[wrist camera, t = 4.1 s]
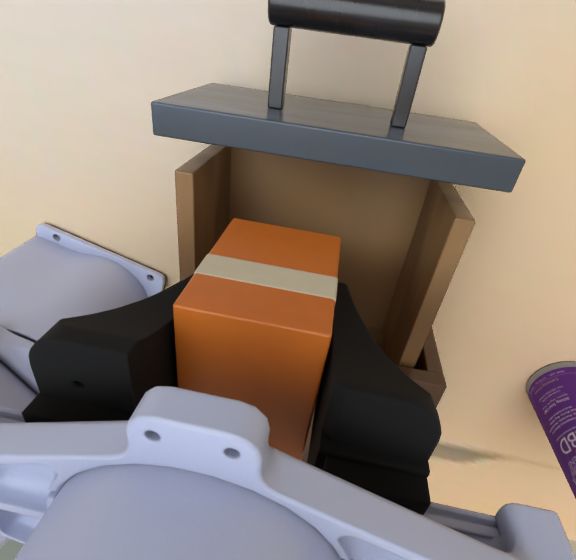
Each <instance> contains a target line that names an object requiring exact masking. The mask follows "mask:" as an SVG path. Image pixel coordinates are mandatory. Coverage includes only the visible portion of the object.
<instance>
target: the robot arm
mask: <svg viewBox="0 0 576 560" xmlns="http://www.w3.org/2000/svg"><path fill="white" fill-rule="evenodd" d="M57 235H58V236H59V237H60V238H59V237H58V236H57ZM150 275H152V276H153V277H154V278H152V277H150ZM193 275H194V274H192V275H191V276H189V277H187V278H186V279H184V280H182V281H180V282H179V283H177V284H175V285H173V286H171V287H169V288H167V289H166V290H164V291H163V288H164V285H165V281H166V279H165V276H164V275H163V274H161V273H159V272H157V271H155V270H152V269H150V268H148V267H146V266H143V265H141V264H139V263H136V262H134V261H132V260H129V259H127V258H125V257H122V256H120V255H118V254H115V253H113V252H111V251H108V250H106V249H104V248H101V247H99V246H97V245H95V244H92V243H90V242H88V241H85V240H83V239H81V238H78V237H76V236H74V235H71V234H69V233H67V232H64V231H62V230H60V229H57V228H55V227H53V226H50V225H48V224H45V223H41V224H40V225H38V226H37V228H36V236H35V237H33V238H32V239H30V240H28V241H27V242H25V243H23V244H22V245H20V246H19V247H17V248H15V249H14V250H12V251H10V252H9V253H7V254H6V255H4V256H2V257H1V258H0V548H1V547H2V546H3V545H4V544H5V543H6V542H7V541H9V540H10V539H12V540H15V541H18V542H20V543H23V544H24V546H23V547H22V549H21V550H20V552H19V553H18V555H17V556H16V558H15V559H14V560H576V558H575V555H574V553H573V550H572V548H571V546H570V543H569V541H568V538H567V536H566V533H565V531H564V529H563V526H562V524H561V521H560V519H559V516H558V514H557V513H556V512H554V511H550V510H546V509H541V508H536V507H532V506H527V505H523V504H517V503H510V504H505V505H504V506H502V507H501V508H500V509H499V511H498V512H497V514H496V516H492V515H487V514H483V513H478V512H474V511H469V510H465V509H460V508H456V507H451V506H447V505H442V504H438V503H433V502H430V495H429V489H428V482H427V477H428V476H429V473H430V470H429V463H428V460H429V458H430V456H431V454H432V453H433V451H434V449H435V447H436V446H437V444H438V442H439V439H440V436H441V425H440V420H439V416H438V413H437V410H436V407H435V404H434V401H433V399H432V396H431V394H430V393H429V392H427V391H426V390H425V389H424V388H422V387H421V386H420V385H418V384H417V383H416V382H414V381H413V380H412V379H410V378H409V377H408V376H407V375H406V374H405V373H404V372H403V371H401V370H400V369H399V368H398V367H397V366H396V365H395V364H394V363H393V362H392V361H391V360H390V359H389V357H388V356H387V355H386V354H385V353H384V352H383V351H382V350H381V348H380V347H379V346H378V344H377V343H376V342H375V340H374V339H373V337H372V336H371V334H370V333H369V331H368V329H367V328H366V326H365V324H364V323H363V321H362V319H361V317H360V315H359V313H358V311H357V309H356V307H355V304H354V302H353V300H352V297H351V294H350V291H349V288H348V286H347V284H344V283H339V282H338V285H337V296H336V303H335V308H334V319H333V329H332V338H331V342H330V346H329V350H328V354H327V358H326V363H325V367H324V371H323V375H322V379H321V383H320V387H319V391H318V396H317V400H316V404H315V411H314V418H313V425H312V432H311V439H310V446H309V453H308V459H307V463H306V462H304V461H301V460H299V459H297V458H295V457H293V456H290V455H288V454H286V453H284V452H282V451H279V450H277V449H275V448H273V447H271V446H269V443H268V438H269V432H270V427H269V423H268V419H267V417H266V416H265V415H264V414H263V413H262V412H261V411H260V410H258V409H257V408H256V407H255V406H253V405H250V404H248V403H245V402H243V401H239V400H234V399H229V398H225V397H220V396H215V395H211V394H206V393H201V392H196V391H192V390H187V389H182V388H178V383H177V366H176V349H175V332H174V315H173V304H174V303H175V301H176V300H177V298H178V297H179V295H180V294H181V293H182V291H183V290H184V288H185V287H186V285H187V284H188V283H189V281H190V280H191V278H192V277H193Z"/></svg>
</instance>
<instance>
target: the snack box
mask: <svg viewBox="0 0 576 560" xmlns="http://www.w3.org/2000/svg"><path fill="white" fill-rule="evenodd" d="M340 244H341V238H340V237H338V236H332V235H326V234H321V233H315V232H310V231H304V230H298V229H293V228H287V227H282V226H276V225H270V224H265V223H259V222H254V221H248V220H242V219H237V218H234V219H233V220H232V221H231V223H230V224H229V225H228V227H227V228H226V230H225V231H224V233H223V234H222V235H221V237H220V238H219V240H218V241H217V243H216V244H215V245H214V247H213V248H212V250H211V251H210V253H209V254H207V255H206V256H205V258H204V259H203V261H202V262H201V264H200V265H199V266H198V268H197V269H196V271H195V272H194V275H193V277H192V278H191V280H190V281H189V283H188V284H187V285H186V287H185V288H184V290H183V291H182V293H181V294H180V295H179V297H178V298H177V300H176V301H175V303H174V304H173V315H174V332H175V349H176V366H177V383H178V388H182V389H187V390H192V391H196V392H201V393H206V394H211V395H215V396H220V397H225V398H229V399H234V400H239V401H243V402H245V403H248V404H250V405H253V406H255V407H256V408H257V409H258V410H260V411H261V412H262V413H263V414H264V415H265V416H266V417H267V419H268V423H269V427H270V432H269V438H268V443H269V446H271V447H273V448H275V449H277V450H279V451H282V452H284V453H286V454H288V455H290V456H293V457H295V458H297V459H299V460H301V461H302V458H303V453H304V449H305V445H306V441H307V437H308V433H309V429H310V425H311V420H312V416H313V412H314V408H315V404H316V400H317V396H318V391H319V387H320V383H321V379H322V375H323V371H324V367H325V363H326V358H327V354H328V350H329V346H330V342H331V338H332V329H333V319H334V308H335V303H336V296H337V285H338V278H337V276H338V266H339V255H340Z"/></svg>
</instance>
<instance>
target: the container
mask: <svg viewBox="0 0 576 560" xmlns="http://www.w3.org/2000/svg"><path fill="white" fill-rule="evenodd" d="M526 391H527V394H528V397H529V399H530V401H531V403H532V406H533V408H534V410H535V412H536V414H537V416H538V418H539V421H540V423H541V425H542V427H543V429H544V431H545V434H546V436H547V438H548V440H549V442H550V444H551V446H552V449H553V451H554V453H555V455H556V457H557V459H558V462H559V464H560V466H561V468H562V470H563V472H564V474H565V477H566V479H567V481H568V483H569V485H570V487H571V490H572V492H573V494H574V496H575V498H576V362H559V363H554V364H551V365H548V366H546V367H543V368H542V369H540V370H538V371H537V372H535V373H534V374H533V375H532V376H531V377H530V379H529V380H528V382H527V385H526Z"/></svg>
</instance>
